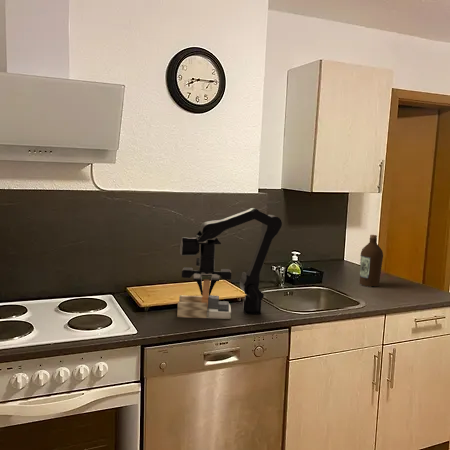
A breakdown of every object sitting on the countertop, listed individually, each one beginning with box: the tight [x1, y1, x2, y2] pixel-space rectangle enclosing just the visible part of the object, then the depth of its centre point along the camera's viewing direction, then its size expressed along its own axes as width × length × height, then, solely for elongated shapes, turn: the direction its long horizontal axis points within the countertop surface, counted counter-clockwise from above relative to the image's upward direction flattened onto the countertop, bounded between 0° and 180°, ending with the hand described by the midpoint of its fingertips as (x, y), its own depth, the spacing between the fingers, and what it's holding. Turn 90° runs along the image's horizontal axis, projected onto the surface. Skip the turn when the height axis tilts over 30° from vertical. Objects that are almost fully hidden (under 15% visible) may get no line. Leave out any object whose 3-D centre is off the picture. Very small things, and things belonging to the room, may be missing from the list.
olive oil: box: [359, 234, 384, 287], centre depth 236 cm, size 11×11×25 cm
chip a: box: [218, 300, 230, 312], centre depth 184 cm, size 4×4×4 cm
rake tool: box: [201, 278, 211, 308], centre depth 183 cm, size 2×6×10 cm, turn 1°
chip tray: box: [206, 303, 232, 320], centre depth 185 cm, size 9×10×2 cm
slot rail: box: [176, 294, 208, 319], centre depth 184 cm, size 11×10×6 cm
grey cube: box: [208, 294, 220, 309], centre depth 184 cm, size 4×4×4 cm
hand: (205, 295), depth 184 cm, fingers closed on rake tool, 2 cm apart
